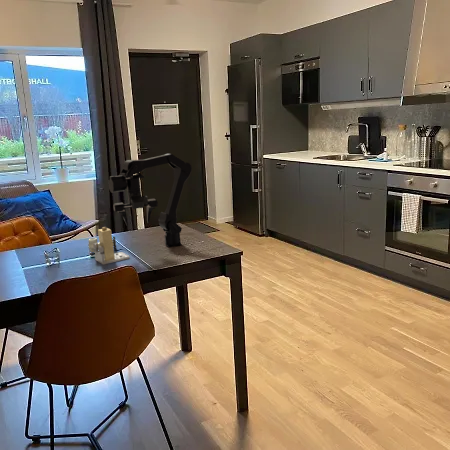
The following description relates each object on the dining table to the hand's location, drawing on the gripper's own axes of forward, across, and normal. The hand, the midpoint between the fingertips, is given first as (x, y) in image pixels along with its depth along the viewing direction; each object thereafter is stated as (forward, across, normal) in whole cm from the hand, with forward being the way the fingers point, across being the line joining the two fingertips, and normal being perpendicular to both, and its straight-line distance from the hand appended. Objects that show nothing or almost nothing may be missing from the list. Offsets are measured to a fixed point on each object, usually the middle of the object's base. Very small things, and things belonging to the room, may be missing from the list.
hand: (137, 224), depth 210 cm
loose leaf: (+12, -15, -5) cm, 20 cm away
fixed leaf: (+13, -13, -4) cm, 19 cm away
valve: (+13, -16, +11) cm, 23 cm away
